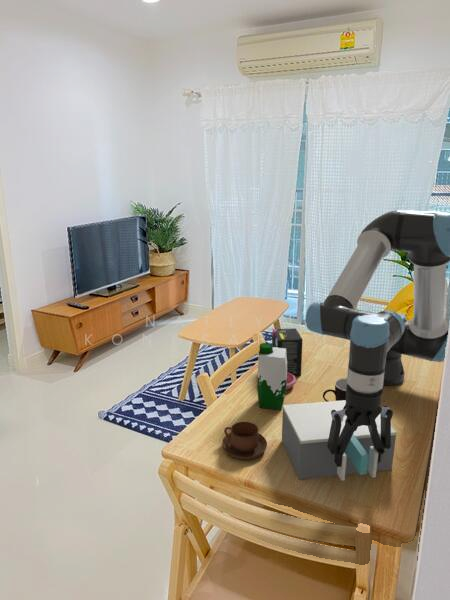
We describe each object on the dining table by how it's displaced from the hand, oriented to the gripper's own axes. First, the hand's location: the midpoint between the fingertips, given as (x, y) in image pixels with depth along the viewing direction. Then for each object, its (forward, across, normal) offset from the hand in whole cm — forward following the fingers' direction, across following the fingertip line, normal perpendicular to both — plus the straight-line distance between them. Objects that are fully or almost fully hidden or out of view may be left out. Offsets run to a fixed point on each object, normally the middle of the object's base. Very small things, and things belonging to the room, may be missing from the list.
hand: (356, 474), depth 102 cm
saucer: (+5, -5, +53) cm, 54 cm away
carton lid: (-3, 0, +9) cm, 9 cm away
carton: (+4, 0, +13) cm, 14 cm away
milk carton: (+4, -10, +41) cm, 43 cm away
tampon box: (+4, +1, +64) cm, 64 cm away
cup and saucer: (+4, -23, +19) cm, 30 cm away
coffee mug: (+4, +10, +32) cm, 34 cm away
